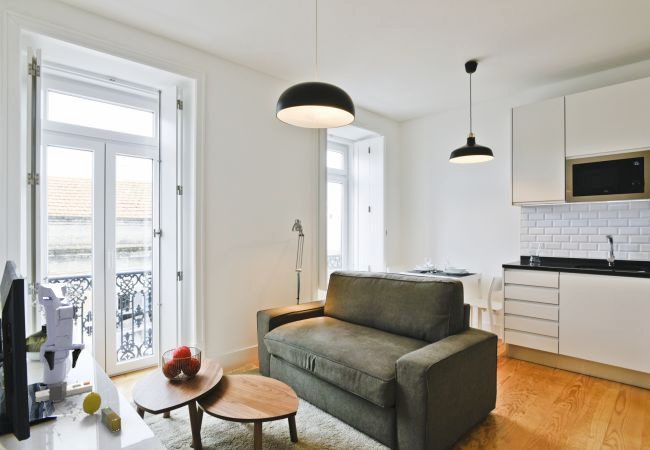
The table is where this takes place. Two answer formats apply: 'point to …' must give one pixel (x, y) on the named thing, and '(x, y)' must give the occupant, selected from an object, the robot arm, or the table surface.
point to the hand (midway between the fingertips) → (62, 368)
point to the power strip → (70, 390)
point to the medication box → (111, 419)
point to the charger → (57, 391)
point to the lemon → (91, 403)
